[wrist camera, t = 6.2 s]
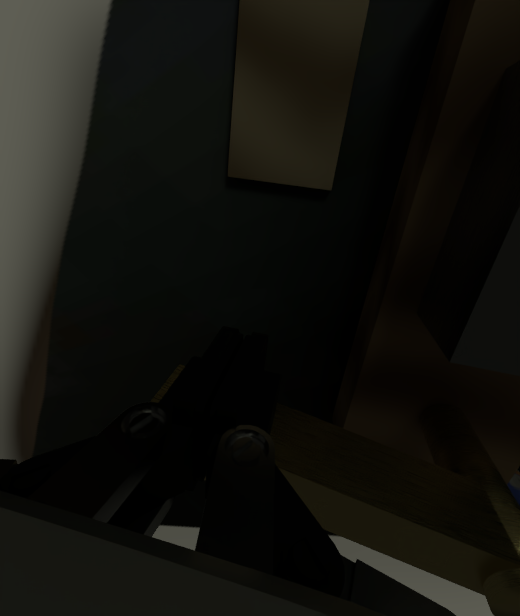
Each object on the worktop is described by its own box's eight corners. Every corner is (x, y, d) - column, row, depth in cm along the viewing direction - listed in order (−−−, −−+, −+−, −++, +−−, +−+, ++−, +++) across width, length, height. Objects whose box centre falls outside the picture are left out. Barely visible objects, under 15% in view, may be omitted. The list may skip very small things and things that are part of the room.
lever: (476, 414, 17) (609, 622, 9) (451, 443, 18) (550, 652, 10) (213, 313, 17) (122, 423, 10) (204, 347, 18) (115, 471, 11)
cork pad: (252, -120, 13) (248, -133, 13) (392, -119, 13) (395, -133, 12) (230, 176, 18) (227, 176, 18) (331, 190, 18) (331, 190, 17)
